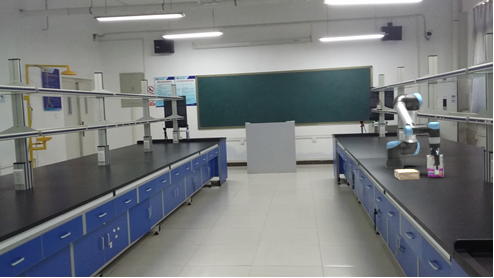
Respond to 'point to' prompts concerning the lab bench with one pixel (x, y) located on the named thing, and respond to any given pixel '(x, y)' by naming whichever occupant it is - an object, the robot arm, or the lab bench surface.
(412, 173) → the birch block
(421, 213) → the lab bench surface
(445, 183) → the lab bench surface
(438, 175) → the candy bar box
